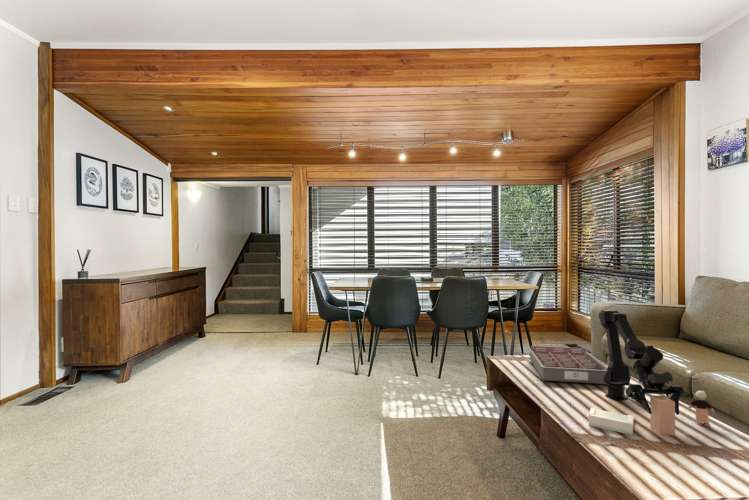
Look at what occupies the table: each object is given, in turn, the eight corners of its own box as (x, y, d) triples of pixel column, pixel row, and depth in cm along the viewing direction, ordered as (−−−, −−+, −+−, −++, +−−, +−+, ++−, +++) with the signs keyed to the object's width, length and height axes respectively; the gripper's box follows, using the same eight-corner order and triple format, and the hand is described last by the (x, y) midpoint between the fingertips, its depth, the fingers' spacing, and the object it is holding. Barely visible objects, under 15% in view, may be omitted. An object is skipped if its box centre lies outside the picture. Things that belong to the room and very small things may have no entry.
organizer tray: (542, 383, 198) (542, 363, 198) (528, 361, 237) (528, 345, 237) (612, 387, 191) (612, 367, 191) (586, 364, 230) (586, 347, 230)
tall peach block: (650, 427, 148) (650, 395, 148) (664, 428, 147) (664, 395, 147) (660, 434, 142) (659, 401, 142) (675, 435, 141) (674, 401, 141)
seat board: (593, 411, 163) (593, 401, 163) (633, 419, 155) (633, 409, 155) (588, 425, 149) (588, 414, 149) (632, 435, 141) (632, 424, 141)
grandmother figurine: (710, 423, 151) (710, 390, 151) (715, 427, 147) (715, 393, 147) (686, 420, 153) (686, 388, 153) (691, 424, 150) (690, 391, 150)
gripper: (628, 362, 150) (645, 403, 139) (682, 364, 147) (703, 405, 136) (618, 377, 157) (633, 416, 146) (669, 378, 155) (688, 418, 144)
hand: (664, 413), depth 143 cm, fingers open, 9 cm apart
